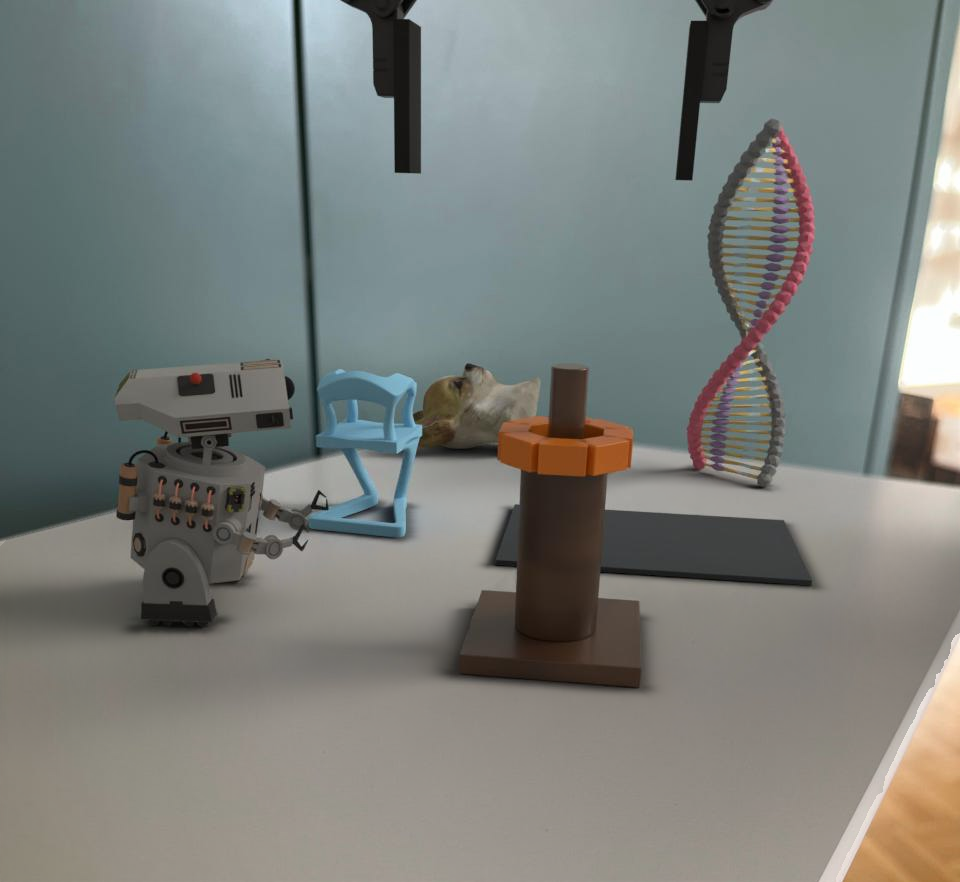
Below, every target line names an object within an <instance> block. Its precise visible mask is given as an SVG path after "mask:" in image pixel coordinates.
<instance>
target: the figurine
mask: <svg viewBox="0 0 960 882" xmlns="http://www.w3.org/2000/svg"><path fill="white" fill-rule="evenodd" d="M284 369H285V368H284V364H283V361H282V359H271V358H266V359H262V360H251V361H241V362H240V361H238V362H226V363H213V364H211V363H210V364H198V365H187V366H185V365H184V366H183V365H182V366H171V367H159V368H157V367H156V368H146V369H145V368H143V369H132V370H130V371H129V372H128V373H127V375H126V376H125V377H124V378H123V379H122V380H121V382H120V383H119V385H118V387H117V390H116V393H115V396H114V405H115V410H116V411H115V412H116V414H117V419H118V422H125V421H126V422H127V421H128V422H129V421H139V420H143V421H144V422H146V423H149V424H151V425H153V426H154V427H157V428H158V429H160V430H162V431H164V435H162V436H157V439H156V446H154V447H153V448H151V449H150V450H148V449H142V450H138V451H135V452H134V453H133V454H131V456H130V457H129V460H128V462H123V463H121V464H120V470H119V471H120V472H119V475H118V484H119V487H118V500H117V501H118V503H117V504H118V505H117V509H116V512H115V513H116V515H115V516H116V518H117V519H119V520H122V521H132V530H131V544H130V559H131V560H132V561H134V562H135V563H136V564H137V565H139V566H140V567H141V568H143V576H142V577H143V578H142V592H143V593H142V594H143V601H142V602H141V604H140V620H142V621H148V622H149V624H151V625H153V626H157V625H159V623H160V622H161V621H162V623H163V624H164V625H165V626H167V627H168V626H172V625H173V623H174V622H183V624H184V625H185V626H186V627H192V626H194V625H195V623H197V625H198V626H199V627H201V628H205V627H207V626H208V624H209V623H213V621H214V620H215V618H217V616H218V611H217V607H216V603H215V599H214V598H212V595H211V589H210V585H211V584H218V583H227V582H232V583H234V584H236V583H239V582H240V580H241V579H244V578H245V576H246V575H247V573H248V572H249V570H250V568H251V567H252V565H253V561H254V560H255V555H265V556H266V557H267V558H268V559H269V560H276V559H279V557H281V555H282V553H283V551H284V549H286V548H289V547H292V546H295V547H296V548H297V550H299V551H301V552H303V551H304V550H305V548H306V545H308V542H309V539H307V540H306V541H305V542H304V543H303V544H302V545H301V544H300V542H299V538H300V537H301V534H302V533H303V531H305V532H307V533H308V534H309V533H310V531H309V530H308V528H307V525H308V520H307V517H309V516H310V515H311V514H313V513H314V511H321V510H329V509H328V508H329V502H328V498H327V496H326V495H325V494H324V493H323V492H322V491H321V490H319V489H318V490H317V491H316V494H315V495H314V498H313V499H312V502H311V504H310V503H308V504H307V505H306V506H305V507H303V508H302V509H301V510H300V509H297V508H292V509H291V508H288V507H287V506H285V505H282V503H281V502H279V501H278V500H276V499H274V498H271V499H267V498H265V497H264V495H263V490H264V489H263V488H264V482H265V474H266V466H265V465H263V464H261V463H260V462H258V461H257V460H255V459H253V458H251V457H250V456H248V455H244V454H242V453H241V452H240V451H238V450H236V449H233V448H231V447H229V446H230V441H229V440H230V439H229V438H232V434H237V433H249V432H259V431H272V430H283V429H284V430H285V429H291V428H292V424H291V420H294V415H293V408H292V407H290V406H289V400H290V399H292V397H294V394H295V392H296V387H295V383H294V381H293V380H292V379H291V378H290V377H288V376H287V375H285V370H284ZM168 434H171V435H172V436H174V437H176V438H177V442H174V443H173V438H171V437H170V436H168ZM182 438H187V440H188V441H182ZM140 454H143V455H142V456H140V457H139V458H138V459H136V460H137V461H136V464H134V463H133V460H134V459H135V458H136V457H137V456H139V455H140ZM320 496H322V497H323V498H325V506H323V505H320V504H317V503H318V500H319V497H320ZM261 511H262V515H263V516H264V517H265V518H266V519H267V520H269V521H275V520H278V521H279V522H282V523H286V524H288V526H289V527H290V528H291V529H292V530H295V531H296V533H295V535H293V536H291V537H288V538H284V539H280V538H278V537H277V535H275V534H268V535H266V536H265V537H264V538H262V537H259V536H258V532H259V531H258V530H259V522H260V514H261Z"/></svg>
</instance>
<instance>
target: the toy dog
mask: <svg viewBox="0 0 960 882" xmlns="http://www.w3.org/2000/svg"><path fill="white" fill-rule="evenodd" d="M541 384H542V383H541V379H540V378H539V377H536V378H533V379H531V380H527V381H522V382H519V383H516V384H512V385H511V384H510V385H508V384H507V385H506V384H502V383H500V382H498V381H497V380H496V378H494V376H493V374H492V373H491V372H490V371H489V370H487V369H485V368H484V367H482V366H478V365H476V364H472V363H470V362H468V363H466V364H465V365H464V368H463V371H462V375H451V374H450V375H445V376H442V377H440V378H438V379H436V380H435V381H434V382H433V383H431V384H430V386H429V387H428V388H427V390H426V391H425V392H424V396H423V400H422V410H419V411H416V412H414V413H413V412H412V414H413V419H414V422H415V424H418V425H422V436H421V437H420V439H419V443H418V447H419V448H433V447H439V446H442V447H444V448H446V449H447V448H448V449H454V450H455V449H457V450H467V449H472V448H476V447H478V446H479V447H480V446H481V445H487V444H498V432H499V430H500V428H501V426H502V424H503V422H508V421H509V420H516V419H523V418H530V417H536V415H537V409H538V401H539V397H540V391H541V390H540V389H541ZM418 447H417V448H418Z"/></svg>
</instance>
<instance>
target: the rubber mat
mask: <svg viewBox="0 0 960 882" xmlns="http://www.w3.org/2000/svg"><path fill="white" fill-rule="evenodd" d="M518 528H519V503H515V504H514V506H513V508H512V511H511V514H510V516H509V520H508V522H507V525H506V528H505V532H504V535H503V538H502V540H501V543H500V546H499V549H498V552H497V555H496V558H495V565H496V566H507V567H517V553H518ZM600 573H614V574H615V573H616V574H628V575H629V574H631V575H646V576H660V577H661V576H662V577H674V578H675V577H678V578H692V579H704V580H705V579H706V580H721V581H736V582H737V581H738V582H752V583H764V584H765V583H766V584H767V583H768V584H783V585H797V586H798V585H799V586H812V585H813V579H812V576H811V575H810V573H809V571H808V568H807V567H806V564H805V562H804V559H803V558H802V555H801V553H800V551H799V549H798V547H797V545H796V542H795V541H794V539H793V537H792V534H791V532H790V530H789V528H788V525H787V523H786V521H785V519H774V518H773V519H771V518H756V517H754V518H753V517H737V516H722V515H721V516H719V515H703V514H690V513H689V514H687V513H670V512H653V511H638V510H637V511H636V510H635V511H634V510H620V509H619V510H617V509H605V516H604V530H603V543H602V556H601V570H600Z"/></svg>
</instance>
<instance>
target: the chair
mask: <svg viewBox="0 0 960 882" xmlns="http://www.w3.org/2000/svg"><path fill="white" fill-rule="evenodd" d="M417 386H418V382H417V381H415V380H414V379H413V378H412V377H409V376H406V375H404V374H402V373H399V372H397V373H393V374H392V375H389V376H380V375H378V374H375V373H374V374H373V373H370V372H367V371H362V370H350V371H345V370H344V369H342V368H339V369H336V370H333V371H330V372H328V373H327V374H325V375H324V376H323V377H322V378H321V379H320V382H319V383H318V386H317V388H316V391H317V393H318V396H319V399H320V402H321V405H322V407H323V410H324V414H325V426H324V430H323V431H322V432H319V433H318V434H316V435H315V446H316V448H323V449H340V450H341V452H342V453H343V455H344V457H345V459H346V460H347V462H348V464H349V466H350V468H351V469H352V472H353V473H354V475H355V477H356V479H357V481H358V484H359V485H360V487H361V489H362V490H363V494H361V495H360V496H357V497H354V498H352V499H349V500H347V501H344V502H341V503H337V504H335V505H331V506H328V509H329V510H317V511H316V512H313V513H310V514H309V515H308V528H309V529H312V530H319V531H328V532H336V533H337V532H338V533H349V534H356V535H357V534H358V535H367V536H375V537H376V536H378V537H386V538H397V539H399V538H403V537H404V536H406V532H407V515H406V512H407V511H406V510H407V507H408V501H407V500H408V499H407V495H408V490H409V485H410V481H411V478H412V472H413V467H414V463H415V459H416V456H417V455H416V454H417V450H418V443H419V439H420V437H421V436H422V425H418V424H415V422H414V419H413V414H414V413H413V411H414V403H415V400H416V396H417ZM405 394H407V396H406V398H405V401H404V404H403V407H402V412H401V416H402V422H403V423H395V411H396V408H397V407H396V406H397V405H398V403H399V402H400V401H401V399H402V398H403V396H404V395H405ZM338 401H346V402H347V413H346V414H347V415H346V418H345V419H343V420H342V421H340V422H338V419H337V418H338V417H337V414H336V411H335V410H334V407H333V405H332V402H338ZM358 401H365V402H370V403H374V404H376V405H377V404H378V405H381V406H383V407H385V412H384V416H383V422H376V421H371V420H363V419H359V407H358ZM412 413H413V414H412ZM358 449H359V450H367V451H372V452H374V453H375V452H376V453H382V454H393V455H398V454H399V453H400V452H402V460H401V466H400V470H399V475H398V479H397V483H396V487H395V491H394V495H393V501H392V502H393V503H392V504H393V518H394V522H386V521H385V522H384V521H375V520H374V521H373V520H366V519H356V518H355V519H354V518H345V517H348V516H352V515H354V514H357V513H360V512H362V511H365V510H368V509H370V508H372V507H375V506H377V505H378V504H379V494H378V491H377V488H376V487H375V485H374V483H373V481H372V479H371V477H370V475H369V473H368V471H367V469H366V468H365V466H364V465H365V464H364V463H363V462H362V459H361V457H360V455H359V452H358Z"/></svg>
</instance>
